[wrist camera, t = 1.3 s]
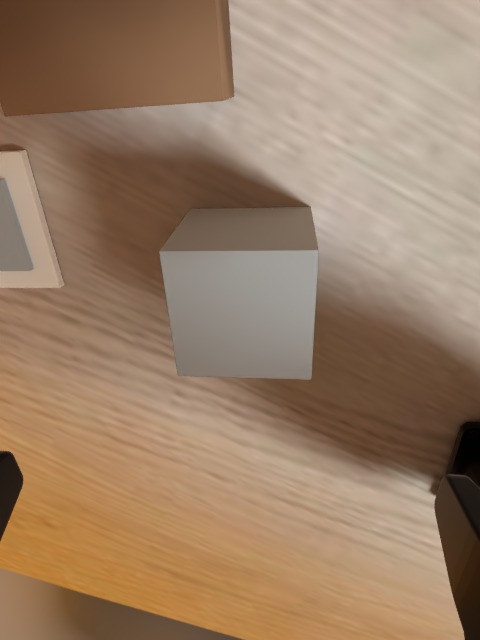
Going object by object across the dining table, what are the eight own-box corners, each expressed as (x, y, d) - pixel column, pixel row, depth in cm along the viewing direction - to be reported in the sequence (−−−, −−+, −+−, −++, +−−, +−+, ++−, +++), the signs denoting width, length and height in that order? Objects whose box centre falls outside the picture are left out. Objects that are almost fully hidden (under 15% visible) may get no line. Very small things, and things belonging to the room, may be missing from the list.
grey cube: (306, 312, 19) (311, 379, 15) (201, 311, 20) (178, 375, 16) (310, 206, 17) (318, 250, 13) (190, 208, 17) (158, 251, 13)
